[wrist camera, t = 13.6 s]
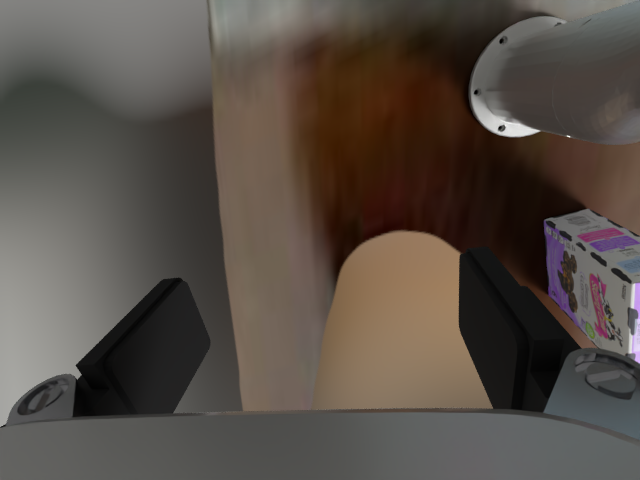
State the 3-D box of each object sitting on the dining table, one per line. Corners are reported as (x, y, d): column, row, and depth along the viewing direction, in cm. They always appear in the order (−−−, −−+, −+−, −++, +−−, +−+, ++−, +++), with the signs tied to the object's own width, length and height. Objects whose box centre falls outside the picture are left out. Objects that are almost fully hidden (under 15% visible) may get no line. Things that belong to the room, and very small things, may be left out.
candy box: (541, 218, 45) (632, 282, 30) (588, 206, 43) (708, 267, 29) (546, 296, 50) (626, 383, 35) (589, 288, 49) (690, 375, 34)
